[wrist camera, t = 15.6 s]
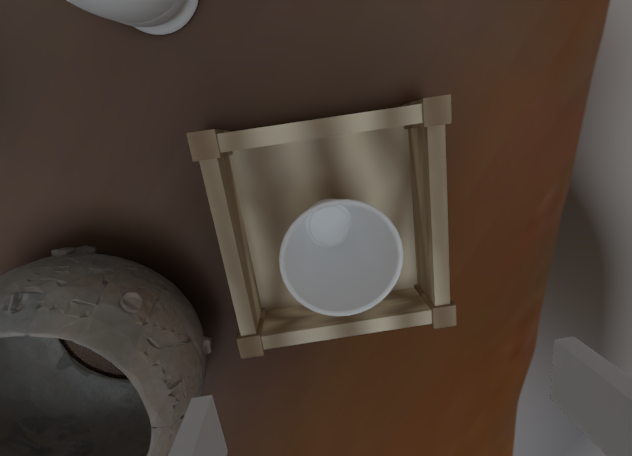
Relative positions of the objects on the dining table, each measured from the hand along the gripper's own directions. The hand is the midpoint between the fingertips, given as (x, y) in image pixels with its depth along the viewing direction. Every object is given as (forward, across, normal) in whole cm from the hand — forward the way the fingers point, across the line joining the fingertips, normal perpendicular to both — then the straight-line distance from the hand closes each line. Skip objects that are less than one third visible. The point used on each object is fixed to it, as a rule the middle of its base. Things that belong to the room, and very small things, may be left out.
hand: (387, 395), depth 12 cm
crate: (+25, 0, 0) cm, 25 cm away
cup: (+25, 0, 0) cm, 25 cm away
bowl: (+26, -26, -9) cm, 38 cm away
